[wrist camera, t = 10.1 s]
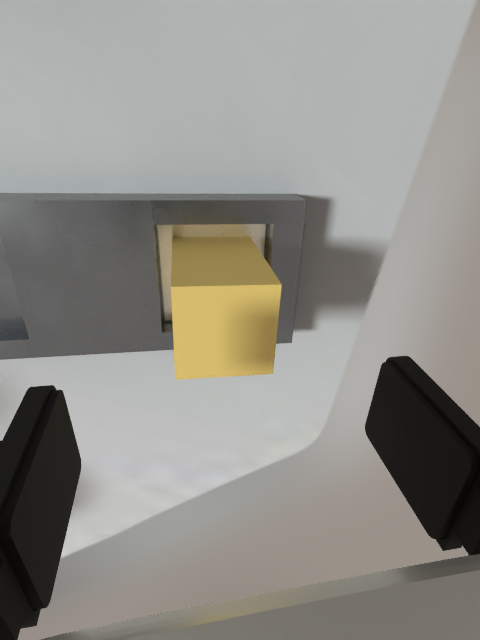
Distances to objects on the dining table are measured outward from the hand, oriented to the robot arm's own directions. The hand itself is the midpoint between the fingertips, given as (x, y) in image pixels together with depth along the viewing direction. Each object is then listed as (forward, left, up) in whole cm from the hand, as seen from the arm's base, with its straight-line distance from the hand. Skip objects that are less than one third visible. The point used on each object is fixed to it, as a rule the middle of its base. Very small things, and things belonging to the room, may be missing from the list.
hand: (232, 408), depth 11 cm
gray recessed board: (+1, -6, -14) cm, 15 cm away
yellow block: (+1, 0, -13) cm, 13 cm away
